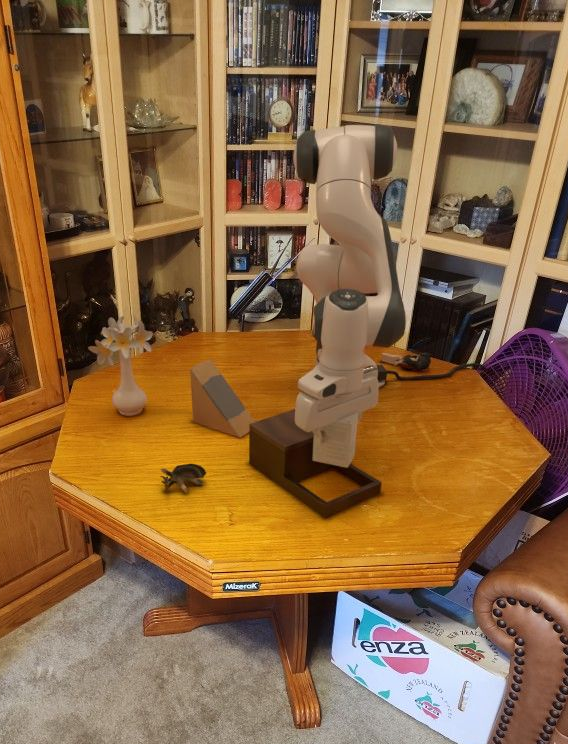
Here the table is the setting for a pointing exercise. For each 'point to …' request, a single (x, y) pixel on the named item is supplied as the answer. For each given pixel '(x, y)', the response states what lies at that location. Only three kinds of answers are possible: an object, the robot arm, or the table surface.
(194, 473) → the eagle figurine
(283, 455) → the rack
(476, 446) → the table surface
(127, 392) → the flower vase
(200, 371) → the sandwich container
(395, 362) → the toy figure
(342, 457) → the small box
